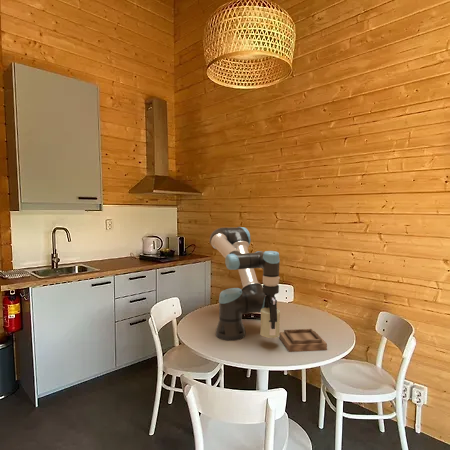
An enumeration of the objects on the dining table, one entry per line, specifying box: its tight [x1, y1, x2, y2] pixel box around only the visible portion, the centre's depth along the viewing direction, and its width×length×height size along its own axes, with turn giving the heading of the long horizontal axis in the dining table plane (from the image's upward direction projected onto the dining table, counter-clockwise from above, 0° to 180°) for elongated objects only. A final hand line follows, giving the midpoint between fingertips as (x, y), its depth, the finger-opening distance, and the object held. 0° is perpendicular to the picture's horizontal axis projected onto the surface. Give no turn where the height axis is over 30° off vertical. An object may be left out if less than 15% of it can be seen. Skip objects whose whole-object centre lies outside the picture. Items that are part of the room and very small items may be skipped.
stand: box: [279, 328, 328, 353], centre depth 167 cm, size 18×16×4 cm
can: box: [259, 308, 281, 339], centre depth 164 cm, size 9×9×12 cm
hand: (269, 330), depth 164 cm, fingers closed on can, 9 cm apart
